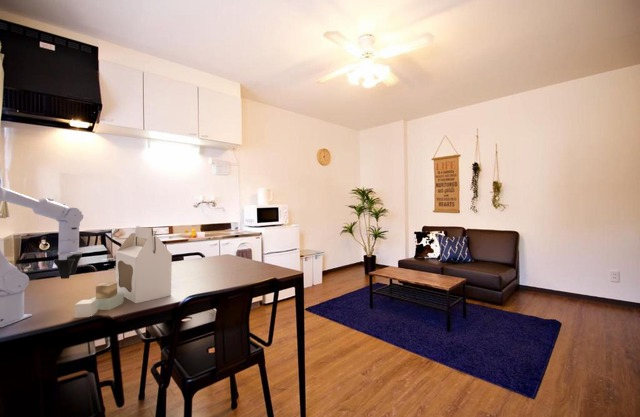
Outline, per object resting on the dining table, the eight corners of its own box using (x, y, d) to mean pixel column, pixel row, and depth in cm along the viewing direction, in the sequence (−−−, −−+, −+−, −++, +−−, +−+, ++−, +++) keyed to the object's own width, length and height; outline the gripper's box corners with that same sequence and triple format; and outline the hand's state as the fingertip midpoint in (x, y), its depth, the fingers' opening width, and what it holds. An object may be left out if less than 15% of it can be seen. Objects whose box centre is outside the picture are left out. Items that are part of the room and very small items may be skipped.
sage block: (109, 310, 101) (109, 299, 101) (89, 310, 101) (90, 299, 101) (123, 303, 108) (123, 293, 108) (104, 303, 108) (104, 293, 108)
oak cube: (117, 294, 106) (117, 282, 106) (108, 298, 102) (108, 285, 102) (104, 294, 106) (105, 282, 106) (95, 298, 102) (95, 285, 102)
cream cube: (90, 316, 94) (90, 303, 94) (74, 318, 93) (74, 304, 93) (97, 311, 99) (97, 299, 99) (82, 312, 98) (82, 299, 98)
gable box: (171, 295, 118) (172, 228, 117) (135, 304, 107) (136, 229, 107) (149, 285, 131) (149, 225, 131) (115, 292, 121) (116, 226, 120)
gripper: (77, 241, 101) (76, 279, 101) (87, 237, 114) (87, 271, 114) (50, 242, 98) (50, 281, 98) (64, 237, 111) (64, 272, 111)
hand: (68, 276), depth 106 cm, fingers open, 7 cm apart
